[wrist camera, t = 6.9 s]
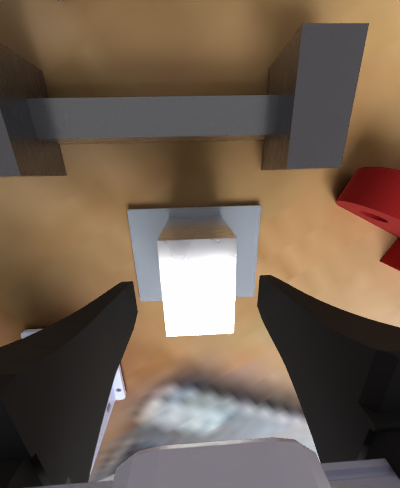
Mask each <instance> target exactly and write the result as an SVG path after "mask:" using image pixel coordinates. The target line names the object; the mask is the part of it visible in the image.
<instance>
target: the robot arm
mask: <svg viewBox="0 0 400 488" xmlns="http://www.w3.org/2000/svg"><path fill="white" fill-rule="evenodd" d="M257 306H258V309H259V312H260V315H261V318H262V320H263V323H264V325H265V327H266V329H267V331H268V332H269V334H270V336H271V338H272V340H273V342H274V344H275V346H276V348H277V350H278V352H279V354H280V356H281V357H282V360H283V362H284V364H285V366H286V368H287V371H288V373H289V376H290V378H291V381H292V383H293V386H294V388H295V391H296V394H297V396H298V399H299V401H300V404H301V407H302V409H303V412H304V415H305V418H306V421H307V423H308V426H309V429H310V432H311V435H312V438H313V441H314V444H315V447H316V450H317V453H318V456H319V459H320V462H321V464H320V462H319V459H318V457H317V455H316V453H315V452H313V451H312V450H310V449H309V448H307V447H306V446H304V445H302V444H301V443H299V442H298V441H296V440H294V439H284V438H274V437H271V438H258V439H245V440H232V441H219V442H206V443H193V444H179V445H166V446H158V447H154V448H150V449H146V450H142V451H138V452H136V453H135V454H134V455H133V456H131V457H130V458H129V459H127V460H126V461H125V462H123V463H122V464H121V465H120V466H119V467H118V468H117V469H116V472H115V476H114V480H113V481H101V482H89V483H88V480H89V476H90V474H91V471H92V468H93V465H94V462H95V459H96V456H97V453H98V450H99V447H100V444H101V441H102V439H103V436H104V433H105V430H106V427H107V424H108V421H109V418H110V415H111V412H112V409H113V406H114V403H115V400H122V399H124V398H125V396H126V390H125V386H124V381H123V377H122V372H121V367H120V362H121V359H122V357H123V354H124V352H125V349H126V347H127V344H128V342H129V339H130V337H131V334H132V331H133V329H134V325H135V321H136V317H137V313H138V311H137V305H136V298H135V292H134V285H133V281H131V282H121V283H119V284H117V285H116V286H114V287H113V288H111V289H110V290H109V291H107V292H106V293H104V294H103V295H101V296H100V297H98V298H97V299H95V300H94V301H92V302H91V303H89V304H88V305H86V306H85V307H83V308H81V309H80V310H78V311H77V312H75V313H73V314H71V315H70V316H68V317H66V318H64V319H62V320H60V321H59V322H57V323H55V324H53V325H51V326H49V327H47V328H44V329H27V330H24V331H23V332H22V333H21V338H22V339H20V340H17V341H15V342H13V343H10V344H7V345H5V346H2V347H0V488H400V327H396V326H392V325H388V324H384V323H381V322H377V321H374V320H371V319H367V318H364V317H361V316H358V315H355V314H352V313H349V312H347V311H344V310H341V309H339V308H336V307H334V306H331V305H329V304H327V303H324V302H322V301H320V300H318V299H316V298H314V297H311V296H309V295H307V294H305V293H303V292H302V291H300V290H298V289H296V288H294V287H292V286H290V285H289V284H287V283H285V282H283V281H281V280H280V279H278V278H276V277H274V276H271V275H261V276H260V279H259V292H258V304H257Z"/></svg>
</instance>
